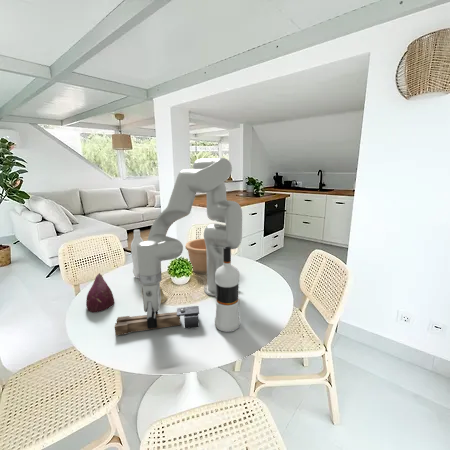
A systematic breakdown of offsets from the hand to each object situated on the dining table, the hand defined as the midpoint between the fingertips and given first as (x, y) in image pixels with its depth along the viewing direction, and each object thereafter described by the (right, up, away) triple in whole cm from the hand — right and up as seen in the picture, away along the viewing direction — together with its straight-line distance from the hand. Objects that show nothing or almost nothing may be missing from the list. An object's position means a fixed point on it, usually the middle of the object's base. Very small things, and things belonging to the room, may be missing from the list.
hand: (153, 323), depth 91 cm
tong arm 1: (-1, -1, -1) cm, 2 cm away
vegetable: (-26, +2, +15) cm, 30 cm away
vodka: (+27, -1, +1) cm, 27 cm away
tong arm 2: (-2, -1, +1) cm, 2 cm away
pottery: (+15, +11, +53) cm, 56 cm away
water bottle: (-19, +8, +42) cm, 47 cm away
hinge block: (+12, -1, +3) cm, 13 cm away
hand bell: (-4, +3, +19) cm, 20 cm away
